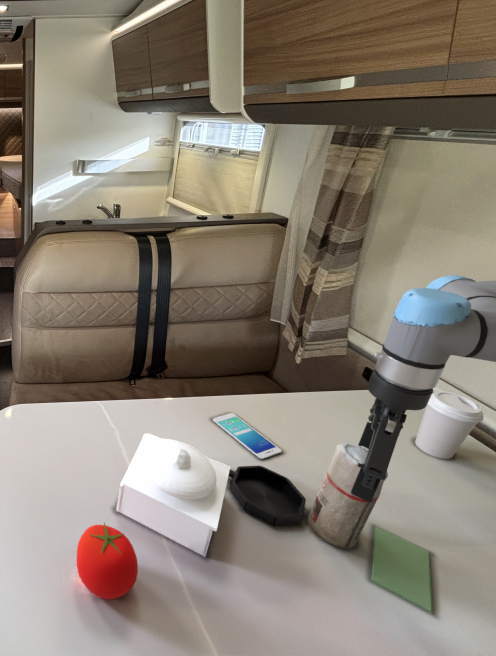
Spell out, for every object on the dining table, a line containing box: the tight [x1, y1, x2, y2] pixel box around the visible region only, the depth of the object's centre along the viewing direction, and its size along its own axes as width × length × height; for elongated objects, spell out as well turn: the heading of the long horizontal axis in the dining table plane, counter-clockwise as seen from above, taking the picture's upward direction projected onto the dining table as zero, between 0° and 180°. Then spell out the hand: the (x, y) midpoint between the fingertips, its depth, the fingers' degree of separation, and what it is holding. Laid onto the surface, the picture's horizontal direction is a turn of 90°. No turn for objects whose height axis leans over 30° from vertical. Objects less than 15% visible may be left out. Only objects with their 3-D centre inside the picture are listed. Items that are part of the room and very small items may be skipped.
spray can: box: [307, 443, 389, 550], centre depth 83 cm, size 8×8×20 cm
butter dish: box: [115, 432, 231, 558], centre depth 89 cm, size 18×18×16 cm
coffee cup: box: [414, 390, 484, 460], centre depth 103 cm, size 10×10×15 cm
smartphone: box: [212, 412, 283, 461], centre depth 110 cm, size 8×1×15 cm
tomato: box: [76, 522, 139, 600], centre depth 76 cm, size 10×11×11 cm
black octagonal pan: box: [228, 465, 307, 527], centre depth 95 cm, size 22×13×3 cm, turn 47°
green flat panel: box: [370, 526, 434, 615], centre depth 79 cm, size 8×14×1 cm, turn 137°
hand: (363, 473), depth 79 cm, fingers open, 13 cm apart
